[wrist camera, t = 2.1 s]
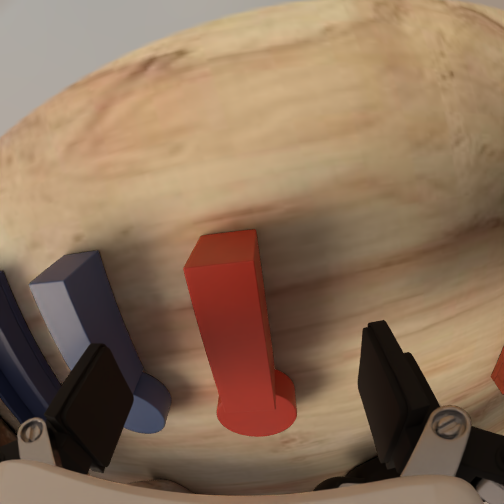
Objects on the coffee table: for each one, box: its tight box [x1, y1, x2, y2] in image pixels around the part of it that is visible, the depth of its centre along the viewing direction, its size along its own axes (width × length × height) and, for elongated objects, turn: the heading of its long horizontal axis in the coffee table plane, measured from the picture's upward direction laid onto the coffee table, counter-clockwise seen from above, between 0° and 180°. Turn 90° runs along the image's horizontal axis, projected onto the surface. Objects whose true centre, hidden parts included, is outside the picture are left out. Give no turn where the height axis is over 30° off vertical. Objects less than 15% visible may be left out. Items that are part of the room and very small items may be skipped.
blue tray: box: [0, 271, 61, 425], centre depth 15 cm, size 15×7×2 cm, turn 8°
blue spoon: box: [29, 250, 171, 434], centre depth 13 cm, size 11×4×3 cm, turn 8°
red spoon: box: [183, 229, 297, 437], centre depth 13 cm, size 11×4×3 cm, turn 8°
